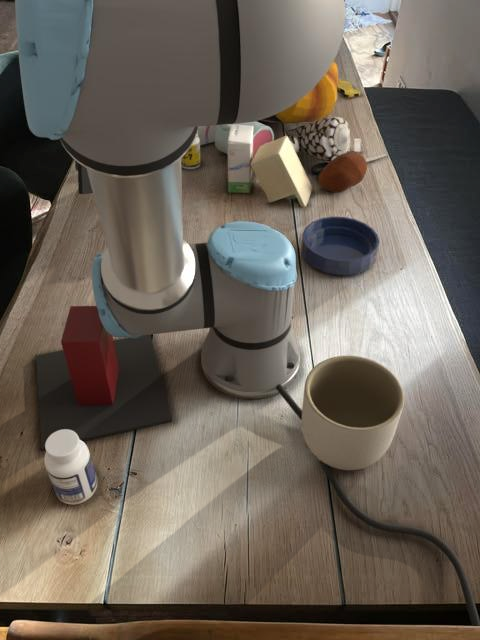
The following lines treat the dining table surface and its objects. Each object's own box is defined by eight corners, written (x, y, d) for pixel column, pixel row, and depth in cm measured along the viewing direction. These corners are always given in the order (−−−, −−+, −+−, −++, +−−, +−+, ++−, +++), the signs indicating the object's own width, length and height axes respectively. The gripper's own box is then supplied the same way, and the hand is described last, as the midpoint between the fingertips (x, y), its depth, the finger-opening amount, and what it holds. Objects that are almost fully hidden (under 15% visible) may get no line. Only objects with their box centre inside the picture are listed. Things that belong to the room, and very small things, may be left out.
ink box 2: (250, 193, 132) (251, 142, 124) (227, 192, 132) (227, 141, 124) (252, 173, 138) (254, 124, 130) (231, 172, 138) (230, 123, 130)
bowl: (388, 270, 112) (392, 253, 109) (317, 284, 109) (319, 266, 107) (357, 228, 122) (359, 211, 119) (290, 240, 119) (292, 222, 116)
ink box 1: (228, 119, 147) (184, 131, 142) (229, 138, 150) (185, 150, 146) (211, 105, 152) (168, 117, 148) (213, 124, 155) (170, 136, 151)
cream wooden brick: (246, 165, 124) (275, 217, 130) (278, 153, 120) (306, 207, 127) (256, 146, 130) (283, 197, 136) (287, 134, 126) (313, 186, 133)
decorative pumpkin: (339, 130, 149) (369, 85, 137) (261, 139, 140) (286, 91, 127) (306, 67, 155) (332, 18, 142) (229, 71, 146) (250, 19, 133)
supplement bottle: (176, 166, 140) (173, 132, 134) (186, 157, 143) (184, 123, 137) (194, 171, 138) (192, 136, 133) (204, 162, 141) (203, 128, 136)
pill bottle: (79, 462, 82) (65, 416, 75) (106, 484, 79) (94, 439, 73) (46, 489, 79) (29, 444, 72) (73, 513, 76) (58, 469, 70)
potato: (312, 166, 128) (342, 183, 125) (347, 134, 131) (378, 150, 128) (314, 191, 135) (343, 208, 131) (347, 160, 138) (376, 176, 134)
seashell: (298, 132, 131) (315, 175, 135) (349, 106, 132) (365, 149, 136) (276, 135, 147) (292, 173, 150) (322, 111, 148) (337, 150, 151)
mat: (172, 421, 87) (172, 418, 86) (42, 450, 83) (41, 448, 83) (150, 336, 99) (150, 333, 99) (36, 358, 96) (35, 355, 95)
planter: (317, 491, 79) (325, 440, 71) (286, 417, 87) (291, 365, 80) (405, 469, 81) (422, 418, 74) (366, 399, 90) (378, 347, 82)
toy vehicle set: (361, 151, 144) (359, 155, 146) (361, 137, 145) (360, 141, 147) (309, 149, 145) (309, 153, 146) (310, 134, 146) (310, 139, 147)
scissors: (376, 149, 146) (306, 169, 139) (376, 146, 146) (307, 166, 139) (394, 161, 142) (323, 183, 135) (395, 158, 142) (324, 179, 134)
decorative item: (346, 98, 168) (362, 95, 169) (346, 95, 167) (362, 92, 169) (327, 82, 175) (343, 80, 177) (328, 79, 175) (343, 77, 176)
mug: (247, 121, 146) (279, 135, 141) (229, 156, 147) (260, 171, 142) (216, 97, 134) (251, 111, 129) (197, 135, 135) (230, 151, 130)
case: (78, 405, 88) (60, 341, 79) (86, 369, 93) (70, 305, 84) (113, 405, 88) (99, 341, 79) (119, 369, 93) (106, 305, 84)
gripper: (209, 43, 82) (205, 203, 88) (72, 47, 93) (77, 188, 100) (176, 35, 75) (174, 208, 82) (34, 40, 87) (41, 191, 93)
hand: (120, 197), depth 91 cm, fingers open, 13 cm apart
